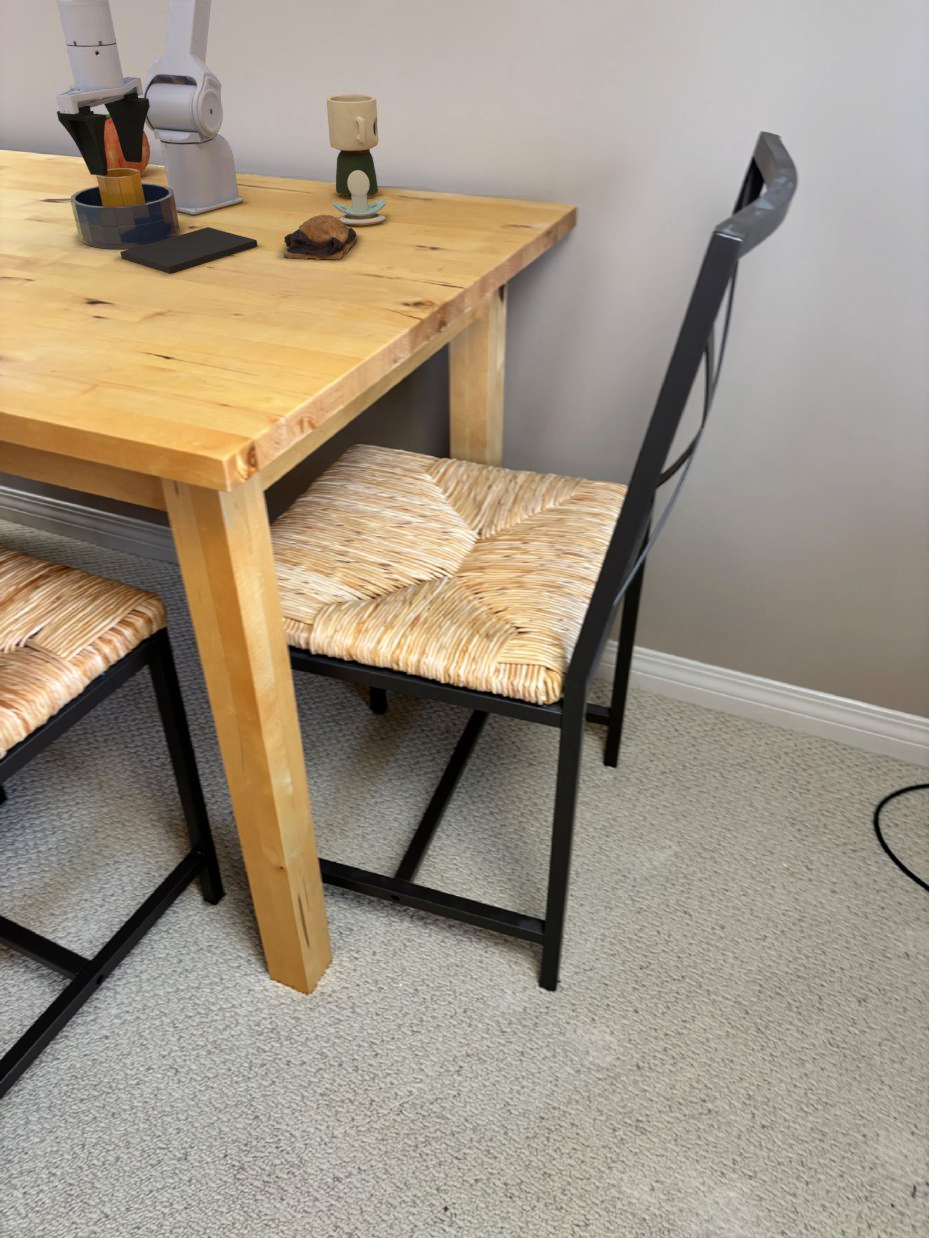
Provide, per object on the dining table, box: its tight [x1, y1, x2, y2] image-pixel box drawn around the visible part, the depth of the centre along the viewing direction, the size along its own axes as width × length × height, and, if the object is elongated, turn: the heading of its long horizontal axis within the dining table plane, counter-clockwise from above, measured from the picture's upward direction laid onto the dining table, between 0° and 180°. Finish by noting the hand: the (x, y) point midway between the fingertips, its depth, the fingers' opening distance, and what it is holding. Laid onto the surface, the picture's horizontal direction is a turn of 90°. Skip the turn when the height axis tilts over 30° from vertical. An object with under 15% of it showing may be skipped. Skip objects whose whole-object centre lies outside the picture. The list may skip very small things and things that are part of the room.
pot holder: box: [119, 226, 258, 274], centre depth 119 cm, size 14×10×1 cm
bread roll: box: [283, 214, 358, 261], centre depth 120 cm, size 11×8×4 cm
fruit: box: [104, 113, 151, 175], centre depth 147 cm, size 9×10×10 cm
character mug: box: [326, 93, 379, 196], centre depth 137 cm, size 11×7×13 cm, turn 22°
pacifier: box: [332, 170, 387, 226], centre depth 128 cm, size 7×6×6 cm
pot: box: [70, 182, 181, 250], centre depth 123 cm, size 13×13×5 cm
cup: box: [95, 168, 146, 207], centre depth 122 cm, size 5×6×7 cm
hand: (116, 168), depth 120 cm, fingers open, 7 cm apart
